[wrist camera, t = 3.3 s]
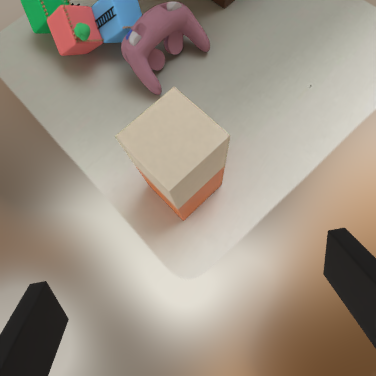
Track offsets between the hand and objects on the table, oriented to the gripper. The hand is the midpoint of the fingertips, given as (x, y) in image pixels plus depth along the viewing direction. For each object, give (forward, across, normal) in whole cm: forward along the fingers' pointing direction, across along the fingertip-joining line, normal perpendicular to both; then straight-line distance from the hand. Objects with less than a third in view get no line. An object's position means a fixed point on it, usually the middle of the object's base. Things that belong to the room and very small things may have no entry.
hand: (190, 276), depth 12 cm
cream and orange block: (+16, 0, +3) cm, 16 cm away
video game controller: (+28, -1, -8) cm, 29 cm away
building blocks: (+32, +8, -13) cm, 36 cm away
